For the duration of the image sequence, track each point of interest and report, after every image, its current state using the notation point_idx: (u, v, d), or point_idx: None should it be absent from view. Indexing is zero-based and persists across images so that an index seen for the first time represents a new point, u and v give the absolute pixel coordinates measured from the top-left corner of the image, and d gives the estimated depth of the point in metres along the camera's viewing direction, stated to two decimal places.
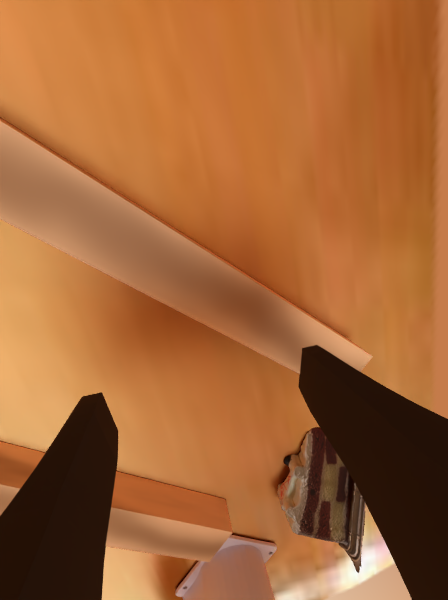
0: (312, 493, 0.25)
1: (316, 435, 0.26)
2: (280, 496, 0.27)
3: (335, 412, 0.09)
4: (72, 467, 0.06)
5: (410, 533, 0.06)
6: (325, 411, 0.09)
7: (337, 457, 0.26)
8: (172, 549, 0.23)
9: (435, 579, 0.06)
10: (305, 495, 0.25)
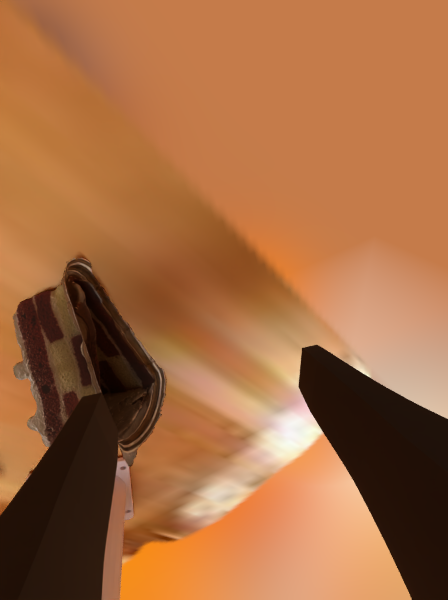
0: (45, 391, 0.16)
1: (22, 311, 0.16)
2: None
3: (335, 412, 0.09)
4: (72, 467, 0.06)
5: (410, 533, 0.06)
6: (325, 411, 0.09)
7: (61, 327, 0.16)
8: None
9: (435, 579, 0.06)
10: (38, 397, 0.16)
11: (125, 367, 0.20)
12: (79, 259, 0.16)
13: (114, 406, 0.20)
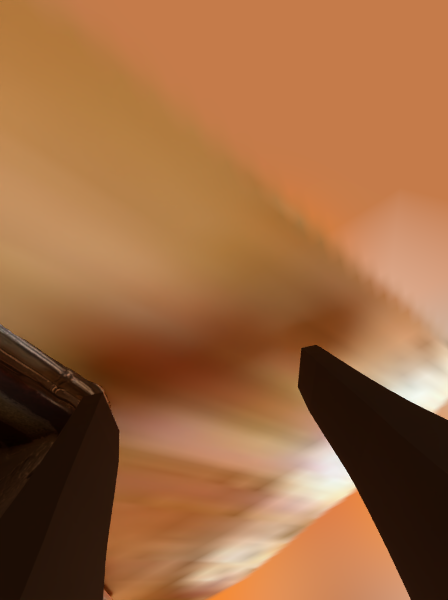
0: None
1: None
2: None
3: (334, 412, 0.09)
4: (74, 467, 0.06)
5: (409, 533, 0.06)
6: (324, 411, 0.09)
7: None
8: None
9: (434, 580, 0.06)
10: None
11: None
12: None
13: (3, 479, 0.10)
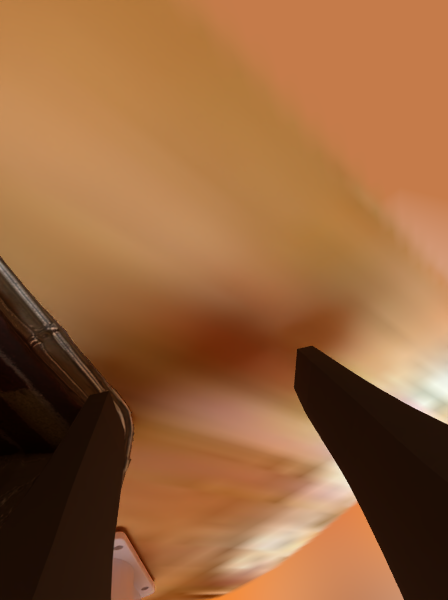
0: None
1: None
2: None
3: (329, 413, 0.09)
4: (82, 464, 0.06)
5: (402, 536, 0.06)
6: (320, 412, 0.09)
7: None
8: None
9: (427, 582, 0.06)
10: None
11: (44, 411, 0.09)
12: None
13: (22, 487, 0.10)
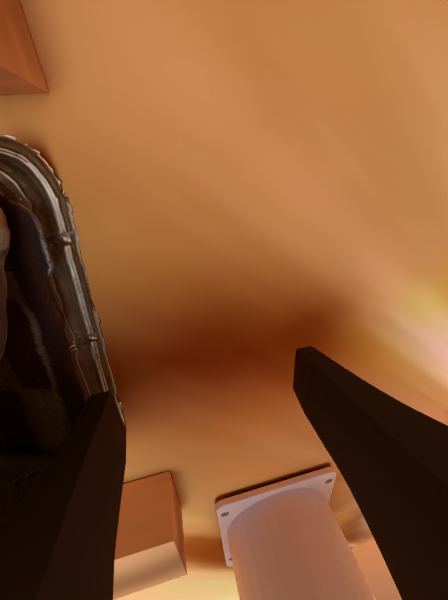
0: None
1: None
2: None
3: (328, 414, 0.09)
4: (84, 464, 0.06)
5: (401, 536, 0.06)
6: (318, 413, 0.09)
7: None
8: None
9: (425, 583, 0.06)
10: None
11: (54, 414, 0.10)
12: (29, 150, 0.06)
13: (2, 487, 0.09)
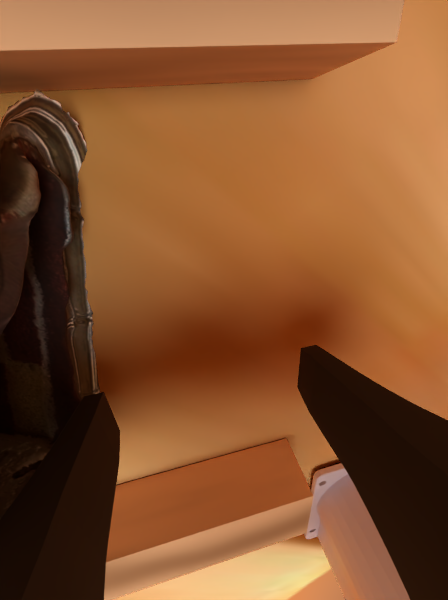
0: None
1: None
2: None
3: (334, 412, 0.09)
4: (75, 466, 0.06)
5: (408, 534, 0.06)
6: (324, 411, 0.09)
7: None
8: (228, 552, 0.14)
9: (433, 580, 0.06)
10: None
11: (38, 391, 0.09)
12: (69, 119, 0.06)
13: None
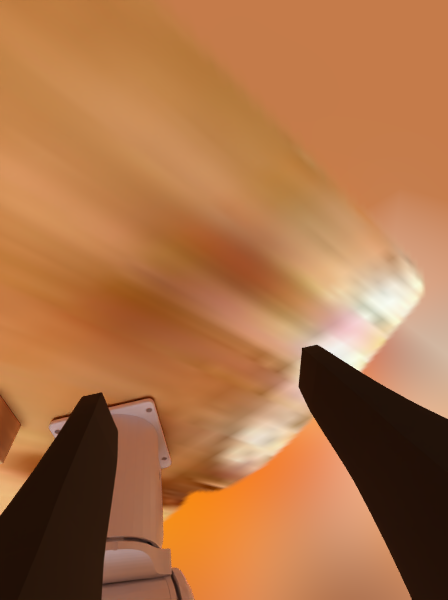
0: None
1: None
2: None
3: (335, 412, 0.09)
4: (72, 467, 0.06)
5: (410, 533, 0.06)
6: (325, 411, 0.09)
7: None
8: None
9: (435, 579, 0.06)
10: None
11: None
12: None
13: None
